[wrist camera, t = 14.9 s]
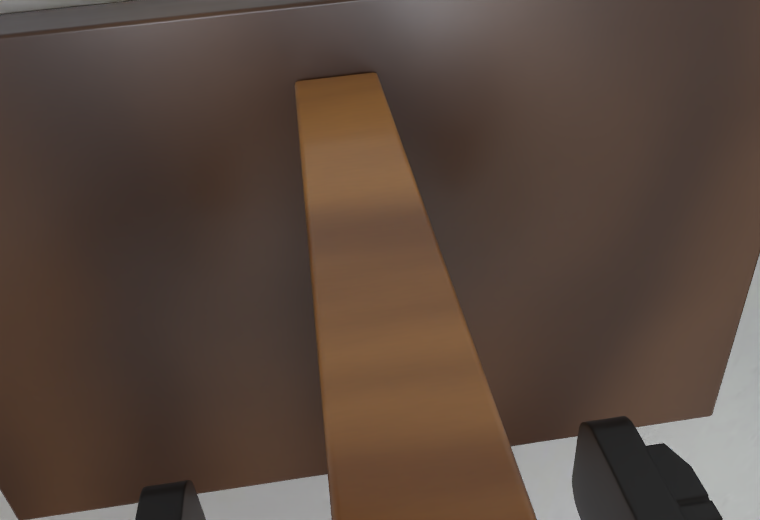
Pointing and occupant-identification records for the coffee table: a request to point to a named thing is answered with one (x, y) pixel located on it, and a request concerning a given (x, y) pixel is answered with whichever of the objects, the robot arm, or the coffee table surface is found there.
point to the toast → (392, 329)
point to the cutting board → (289, 230)
